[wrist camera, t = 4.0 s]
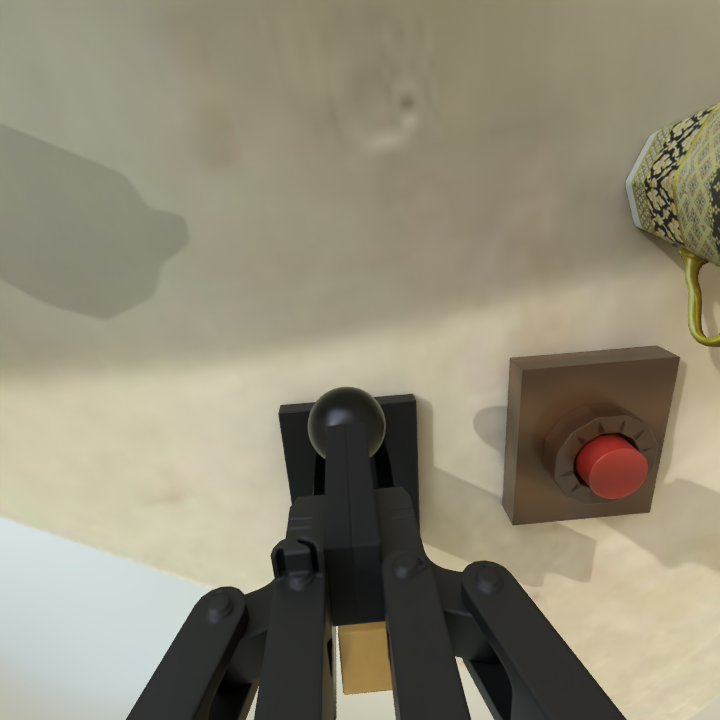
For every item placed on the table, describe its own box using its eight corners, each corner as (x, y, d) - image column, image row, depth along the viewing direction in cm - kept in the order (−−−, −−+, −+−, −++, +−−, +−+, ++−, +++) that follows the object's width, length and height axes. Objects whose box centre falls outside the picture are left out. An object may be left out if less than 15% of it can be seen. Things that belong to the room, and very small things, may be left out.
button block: (509, 357, 30) (534, 381, 26) (657, 345, 30) (702, 367, 27) (502, 505, 34) (522, 544, 31) (631, 493, 35) (667, 530, 31)
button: (578, 436, 28) (592, 451, 27) (634, 431, 28) (652, 446, 27) (572, 484, 30) (586, 501, 28) (626, 479, 30) (643, 496, 28)
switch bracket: (280, 404, 30) (235, 584, 17) (413, 393, 31) (478, 561, 17) (300, 545, 35) (278, 781, 21) (417, 534, 35) (472, 760, 21)
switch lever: (307, 385, 21) (300, 396, 18) (379, 379, 21) (385, 389, 18) (331, 649, 22) (329, 707, 19) (400, 642, 22) (410, 698, 19)
